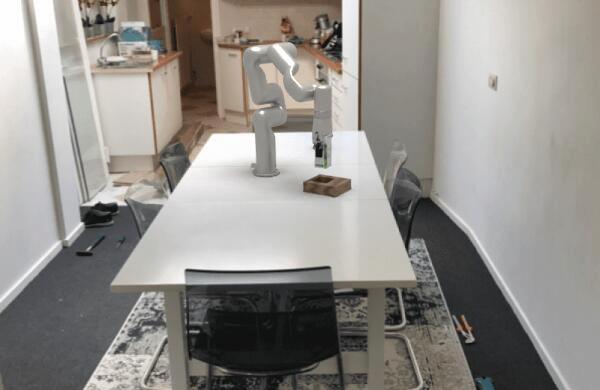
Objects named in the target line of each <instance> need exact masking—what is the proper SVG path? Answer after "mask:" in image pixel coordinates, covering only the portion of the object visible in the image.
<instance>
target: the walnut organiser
mask: <svg viewBox="0 0 600 390" xmlns="http://www.w3.org/2000/svg"><path fill="white" fill-rule="evenodd" d="M302 184H303V185H302V187H303V188H302V190H303V192H304V193H310V194H314V195H320V196H326V197H331V198H336V197H338V196H340V195H342V194H344V193H346V192H348V191H350V190H351V189H352V179H351V178H346V177H342V176H341V177H340V176H334V175H327V174H323V173H322V174H321V173H319V174H317V175H315V176H312V177H311V178H308V179H306V180H304V181H302Z"/></svg>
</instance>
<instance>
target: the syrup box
mask: <svg viewBox="0 0 600 390" xmlns="http://www.w3.org/2000/svg"><path fill="white" fill-rule="evenodd" d="M332 134H333V133H332ZM332 134H328V135H326V136H325V137H324V142H323V143H322V148H321V149H322V158H318V157H316V156H315V155H314V168H319V169H324V170H325V169H328V168H330V167H331V166H332V151H333V150H332V148H333V147H332V144H333V143H332V142H333V141H332V139H333V137H332ZM318 141H320V140H318ZM318 144H319V145H320V143H318Z"/></svg>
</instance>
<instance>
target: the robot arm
mask: <svg viewBox="0 0 600 390" xmlns="http://www.w3.org/2000/svg"><path fill="white" fill-rule="evenodd" d="M297 56H298V49H297V47H296V46H295V44H294V43H292V42H289V41H287V42H286V41H284V42H275V43H270V44H269V43H268V44H259V45H252V46H249V47H247V48H246V49H244V52H243V54H242V65H243V68H244V71H245V75H246V78H247V81H248V87H249V92H250V97H251V100H252V103H253V105H256V106H264V105H269V106H264V107H259V108H257V109H256V110H255V111H254V112H253V114H252V115H251V116H252V117H251V118H252V119H251V120H252V124H253V130H254V140H255V141H254V142H255V162H251V164H250V168H253V169H254V170H253V171H252V174H253V176H256V177H262V178H263V177H264V178H265V177H266V178H267V177H274V176H278V175H279V174H280V169H278V168H277V151H276V150H277V147H276V145H277V144H276V134H275V133H274V131H273V129H272V128H273V127H279V126H282V125H284V124H286V122H287V119H288V110H287V105H286V100H285V95H284V91H283V89H282V87H281V85H280V84H278V83H276V82H268V80H267V76H266V73H265V70H264V69H263V68H262V66H260V65H265V64H272V65H273V66H274V67H275V68H276V70H278V71H279V72H280V74H281V75H282V83H283V86H284V87H283V88H284V89H285V91H286V93H287V94H288V95H289V96H290V97H291V98H292V99H293V100H294V101H295V102H297V103H305V102H311V101H313V120H312V121H313V122H312V130H311V132H312V133H311V140H312V144H313V146H315V149H314V157H315V156H316V157H318V158H322V149H321V148H322V143H323V142H324V137H325V136H326V135H328V134H332V138H333V137H334V134H333V121H332V119H333V117H332V115H333V106H332V105H333V103H332V101H333V100H332V99H333V98H332V96H333V94H332V93H333V91H332V90H333V88H332V86H331V85H329V84H321V83H319V82H316V81H315V82H307V83H301V84H300V83H298V81H297V80H296V79H295V77H294V76H295V75H297V73H298V71H299V70H300V64H299V62H298V61H297V60H296V58H297ZM318 140H320V141H318ZM318 143H320V145H319V144H318Z"/></svg>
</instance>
